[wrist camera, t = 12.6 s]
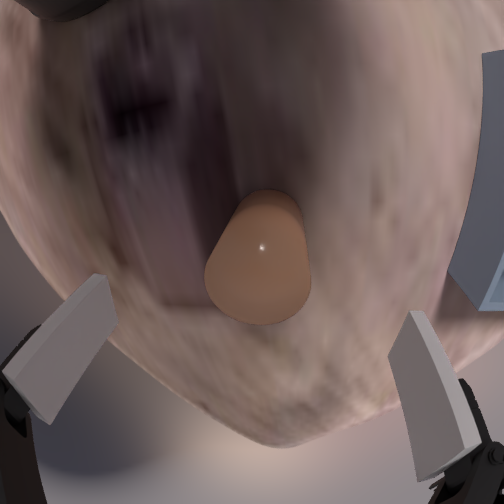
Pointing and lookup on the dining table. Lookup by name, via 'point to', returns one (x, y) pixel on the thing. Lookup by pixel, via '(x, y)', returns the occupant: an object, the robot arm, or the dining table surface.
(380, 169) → the dining table surface
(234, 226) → the terracotta cylinder
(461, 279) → the tote
